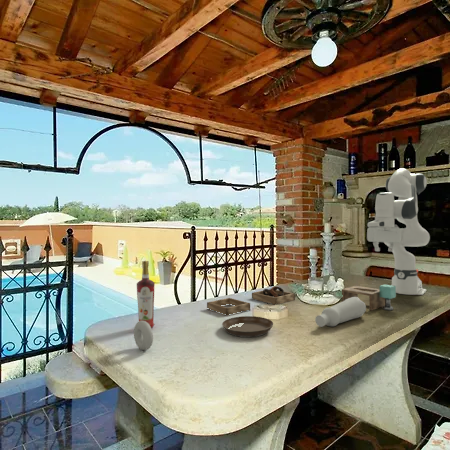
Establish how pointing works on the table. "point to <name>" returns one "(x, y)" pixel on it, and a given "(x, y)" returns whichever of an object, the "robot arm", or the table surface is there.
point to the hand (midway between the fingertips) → (384, 251)
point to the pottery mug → (271, 292)
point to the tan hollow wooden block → (374, 296)
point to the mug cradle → (273, 300)
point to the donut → (143, 335)
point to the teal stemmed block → (387, 295)
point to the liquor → (146, 296)
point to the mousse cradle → (237, 308)
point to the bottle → (341, 312)
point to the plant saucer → (248, 326)
